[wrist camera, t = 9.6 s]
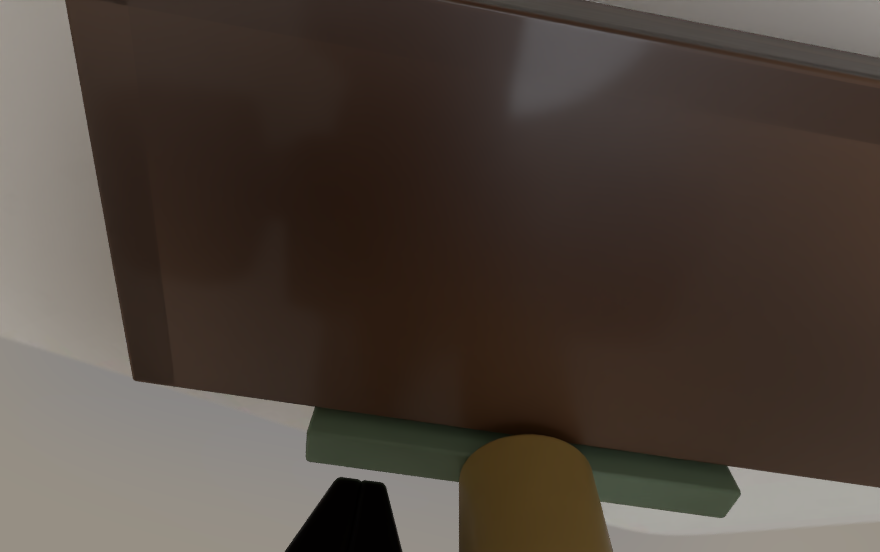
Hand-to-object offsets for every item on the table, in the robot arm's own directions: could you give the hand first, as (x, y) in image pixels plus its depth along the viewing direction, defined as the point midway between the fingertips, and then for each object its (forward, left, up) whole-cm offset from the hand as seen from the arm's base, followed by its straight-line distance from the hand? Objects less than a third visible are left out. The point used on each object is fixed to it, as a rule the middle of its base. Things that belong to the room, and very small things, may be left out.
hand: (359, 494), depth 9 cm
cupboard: (+1, -5, -9) cm, 10 cm away
